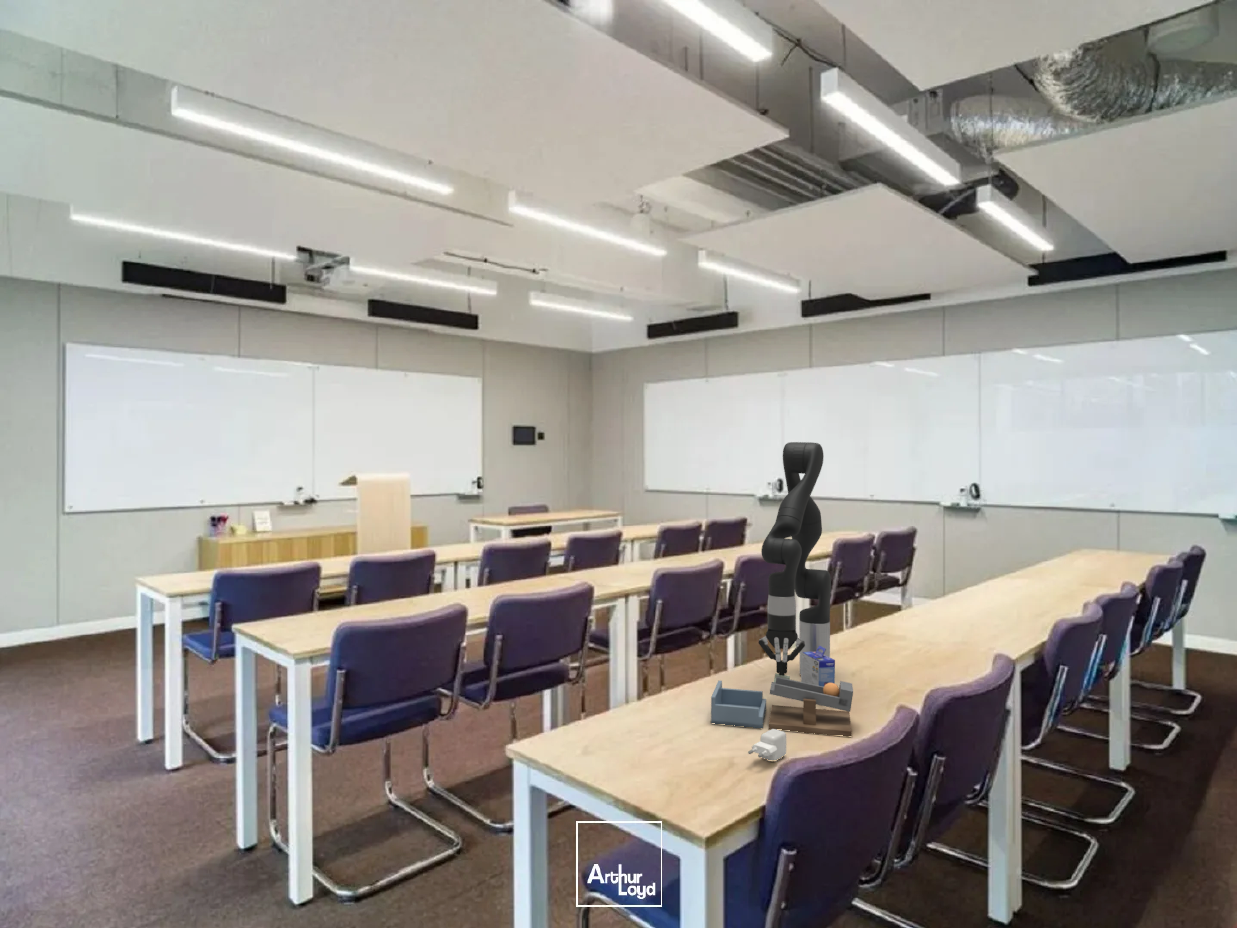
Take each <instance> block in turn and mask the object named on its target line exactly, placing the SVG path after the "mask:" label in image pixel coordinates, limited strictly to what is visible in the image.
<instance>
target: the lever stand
mask: <svg viewBox="0 0 1237 928" xmlns="http://www.w3.org/2000/svg"><path fill="white" fill-rule="evenodd" d="M802 703H803V705H802V706H803V707H802V706H801V707H800V706H788V705H777V704H771V708H770V714H769V720H768V730H769V729H782V730H790V731H798V732H804V733H803V734H809V733H813V734H812V735H819V734H827V735H826V736H830V735H843V736H852V735H853V731H852V723H851V714H850V712H848V711H844V710H838V709H835V710H834V709H825V708H824V709H823V708H817V705H816V700H815V699H803V701H802ZM798 732H797V733H798ZM814 733H815V734H814ZM852 737H853V736H852Z"/></svg>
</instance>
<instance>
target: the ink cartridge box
mask: <svg viewBox="0 0 1237 928" xmlns="http://www.w3.org/2000/svg"><path fill="white" fill-rule="evenodd" d="M819 649H822V650H823V653H821V652H819ZM825 651H826V649H825V648H823V647H821V646H819V647H818V649H817V650H816V652H802V671H801V677H800V678H801V679H800V682H804V683H809V684H813V685H818V686H823V687H824V686H825V685H826V684H827V683H834V684H836V683H835V682H836V681H835V680H836V679H835V678H836V659H835V658H832V657H831V656H830V657H828V656H826V655H824V653H825Z"/></svg>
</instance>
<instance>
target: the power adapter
mask: <svg viewBox="0 0 1237 928" xmlns="http://www.w3.org/2000/svg"><path fill="white" fill-rule="evenodd" d="M759 740H760V741H758V742H756V743H754V744H753V745H752V746H751V749H750V750H749V751H748V752H747V754H748V755H751V754H753V753H755V754H758V756H757V757H758V758H761V757H762V758H765V759H768V760H777V759H779V758H781V757H782V756H784V755H785V754H786V755H787V733H786V731H780V730H777V729H771V730H769V729H768V730H767V731H766V732H764V733H762V734H761V735H760V739H759ZM786 755H785V756H786ZM785 756H784V757H785ZM762 758H761V759H762ZM781 759H782V758H781Z"/></svg>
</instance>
